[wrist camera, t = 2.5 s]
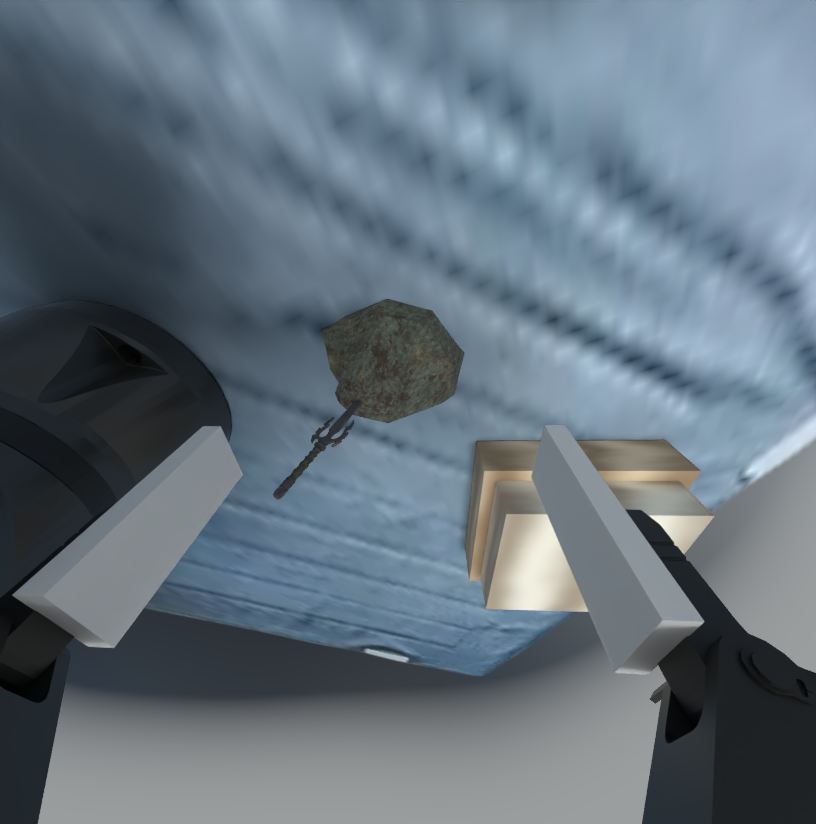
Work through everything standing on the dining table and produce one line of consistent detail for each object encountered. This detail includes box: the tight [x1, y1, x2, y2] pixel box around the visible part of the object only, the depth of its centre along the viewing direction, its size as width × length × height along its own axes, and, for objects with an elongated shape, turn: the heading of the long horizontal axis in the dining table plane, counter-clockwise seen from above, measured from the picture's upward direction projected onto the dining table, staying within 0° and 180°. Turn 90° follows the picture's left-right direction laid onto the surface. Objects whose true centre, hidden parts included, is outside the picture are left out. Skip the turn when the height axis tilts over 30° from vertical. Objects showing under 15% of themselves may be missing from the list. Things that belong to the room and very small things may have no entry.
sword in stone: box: [273, 299, 464, 499], centre depth 16 cm, size 10×8×12 cm
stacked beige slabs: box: [465, 440, 714, 612], centre depth 25 cm, size 15×15×6 cm
